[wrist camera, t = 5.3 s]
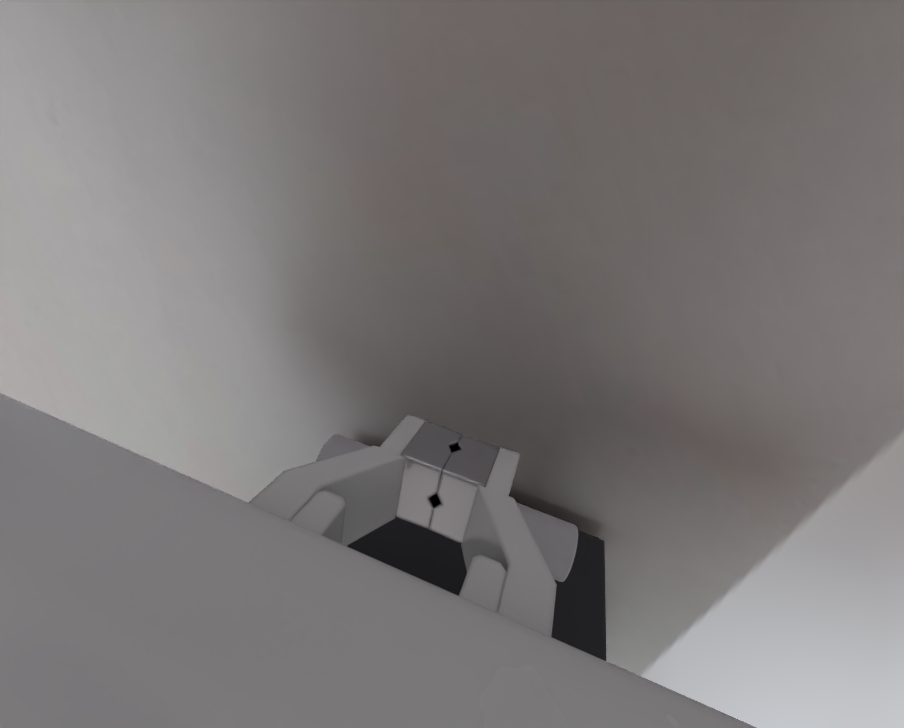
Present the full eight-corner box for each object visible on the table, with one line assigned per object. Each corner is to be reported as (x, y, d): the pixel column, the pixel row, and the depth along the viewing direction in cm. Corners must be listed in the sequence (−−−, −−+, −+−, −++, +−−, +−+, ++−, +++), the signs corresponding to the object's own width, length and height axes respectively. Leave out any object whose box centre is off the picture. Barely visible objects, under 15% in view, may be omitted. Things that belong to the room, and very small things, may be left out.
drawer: (350, 352, 16) (169, 474, 9) (650, 452, 14) (700, 711, 7) (328, 611, 24) (219, 783, 17) (519, 704, 21) (483, 947, 15)
